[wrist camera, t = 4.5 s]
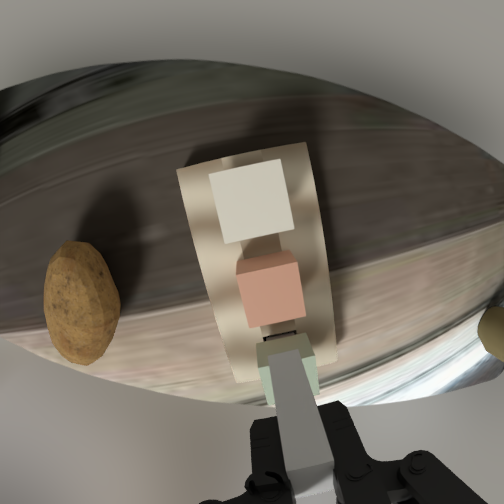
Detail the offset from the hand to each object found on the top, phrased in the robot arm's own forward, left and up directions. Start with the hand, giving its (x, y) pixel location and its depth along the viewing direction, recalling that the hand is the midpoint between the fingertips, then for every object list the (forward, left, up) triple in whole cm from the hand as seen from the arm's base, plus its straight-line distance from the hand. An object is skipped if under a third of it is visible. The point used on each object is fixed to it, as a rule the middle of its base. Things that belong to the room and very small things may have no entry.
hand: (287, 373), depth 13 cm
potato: (-12, -16, -17) cm, 26 cm away
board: (0, 0, -17) cm, 17 cm away
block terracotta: (0, 0, -16) cm, 16 cm away
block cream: (-7, +4, -14) cm, 16 cm away
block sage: (+7, -4, -14) cm, 17 cm away
